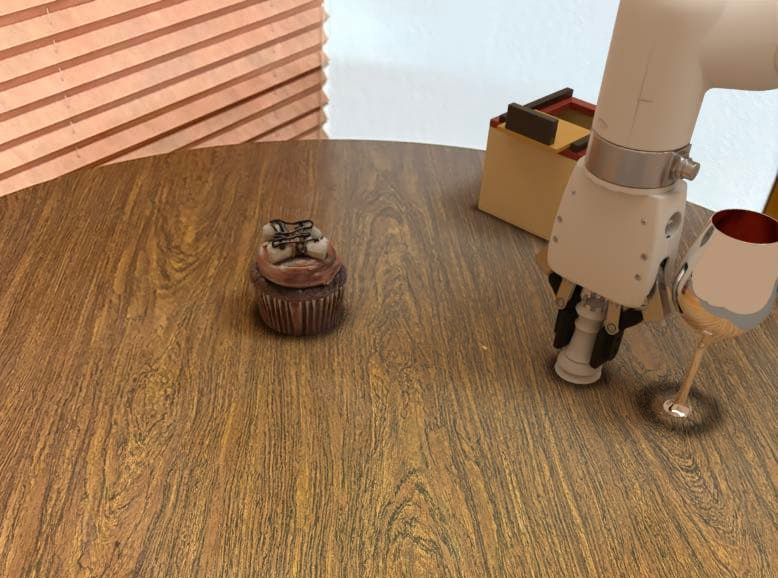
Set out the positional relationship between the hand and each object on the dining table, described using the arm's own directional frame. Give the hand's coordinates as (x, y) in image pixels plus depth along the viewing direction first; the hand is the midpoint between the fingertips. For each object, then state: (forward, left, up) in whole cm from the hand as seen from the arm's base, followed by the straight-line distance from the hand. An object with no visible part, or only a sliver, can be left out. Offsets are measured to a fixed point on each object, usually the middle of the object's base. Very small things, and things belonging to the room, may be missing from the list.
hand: (582, 350), depth 81 cm
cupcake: (+13, -25, -3) cm, 28 cm away
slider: (-20, -21, +8) cm, 30 cm away
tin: (-25, -21, -3) cm, 33 cm away
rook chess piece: (0, 0, -3) cm, 3 cm away
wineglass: (-2, +10, -3) cm, 10 cm away
